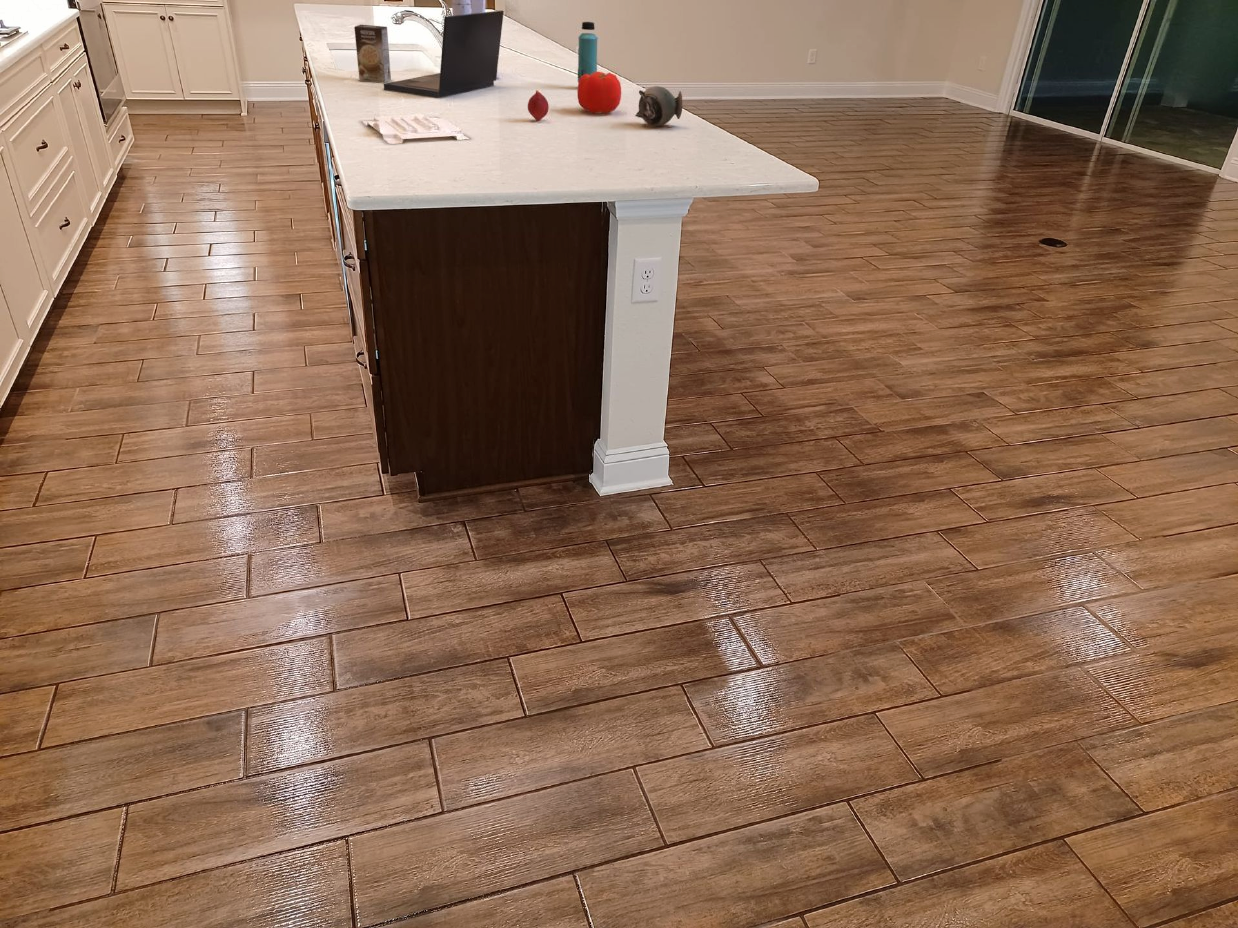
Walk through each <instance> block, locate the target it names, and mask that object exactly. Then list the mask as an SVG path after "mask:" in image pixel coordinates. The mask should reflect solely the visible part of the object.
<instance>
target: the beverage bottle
mask: <svg viewBox="0 0 1238 928" xmlns="http://www.w3.org/2000/svg"><path fill="white" fill-rule="evenodd" d="M595 29H596V28H595V22H593V21H582V22H581V30H585V31H594V30H595ZM577 38H578V48H577V57H578V59H577V83H579V80H580V78H581V76H582V75H584V74H588V75H589V76H590V74H592V73H595V72H598V37H597V35H596V34H595V33H591V32H583V33H581V34H579V35H578V37H577Z"/></svg>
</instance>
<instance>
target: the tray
mask: <svg viewBox="0 0 1238 928" xmlns="http://www.w3.org/2000/svg"><path fill="white" fill-rule="evenodd" d="M361 122H362V123H363V124H364V125H366V126H369V127H370V126H371V127H373V129H375V130H376V131H377V132H378V133H380V134H381V135H382V139H383V140H384V141H385V142H386V143H388V144H389V145H393V144H395V145H396V144H403V143H404V140H406V139H407V140H409V139H425V138H426V139H427V138H440V137H442V138H443V137H453V138H455V139H456V140H457V141H461V140H469V139H470V138H469V137H467V136H466V135H465V134H463V132H462V131H463V130H462V129H461V128H460V127H458V126H456V125H454V124H453V123H452V122H450V121H448V120H447V119H445V118H443V117H439V118H438V117H435V116H434V117H428V116H427V115H426V114H422V113H421V114H403V115H401V114H400V115H381V116H373V120H363V121H361Z"/></svg>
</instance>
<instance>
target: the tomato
mask: <svg viewBox="0 0 1238 928" xmlns="http://www.w3.org/2000/svg"><path fill="white" fill-rule="evenodd" d="M577 83H578V82H577ZM576 92H577V101H578V104H579V106H580V107H581V108H582V109H584V110H585V111H587V112H588V113H591V114H599V113H601V114H610V113H612V112H613V111H615V110H616V109H617V108H618V107H619V106H620V103H621V100H622V86H621V81H620V80H619V79H618V77H617V75H616V74H613V73H611V72H608V73H604V72H602V71H597V72H595V73H592V74H590V76H589V75H588V74H584V75H582V76H581V78H580V80H579V83H578V84H577V91H576Z"/></svg>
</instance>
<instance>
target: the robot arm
mask: <svg viewBox="0 0 1238 928" xmlns="http://www.w3.org/2000/svg"><path fill="white" fill-rule="evenodd" d="M486 2H487V1H486V0H451V8H452V9H451V11H452V16H455V15H464V14H473V13H482V12H486ZM497 79H499V76H498V75H497V76H496V80H497Z"/></svg>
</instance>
